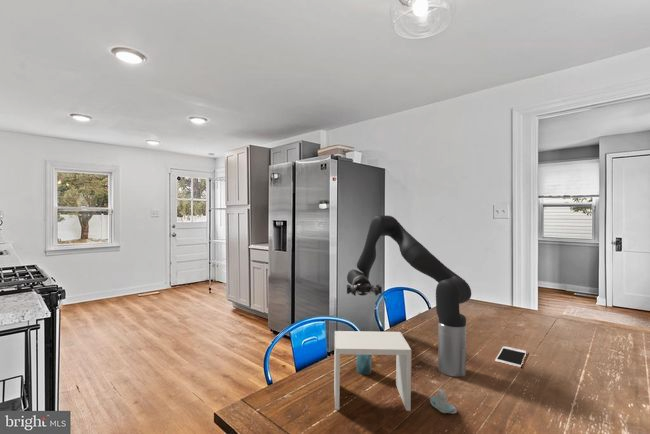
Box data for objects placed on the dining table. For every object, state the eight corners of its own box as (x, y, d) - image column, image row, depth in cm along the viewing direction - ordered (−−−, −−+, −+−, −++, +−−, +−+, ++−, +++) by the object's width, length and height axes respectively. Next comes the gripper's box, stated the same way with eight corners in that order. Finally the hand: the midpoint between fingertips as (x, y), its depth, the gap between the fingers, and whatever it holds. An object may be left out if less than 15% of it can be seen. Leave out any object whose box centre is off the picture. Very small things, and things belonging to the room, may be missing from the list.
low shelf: (334, 384, 106) (334, 331, 106) (399, 385, 106) (400, 331, 106) (335, 409, 92) (335, 348, 92) (410, 410, 92) (411, 349, 92)
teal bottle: (372, 369, 117) (373, 336, 117) (368, 376, 112) (369, 341, 112) (358, 366, 119) (359, 333, 119) (354, 373, 114) (354, 338, 114)
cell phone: (527, 353, 133) (527, 351, 133) (521, 369, 119) (521, 367, 119) (503, 347, 138) (503, 345, 138) (494, 362, 124) (494, 360, 124)
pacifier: (440, 400, 98) (427, 406, 95) (441, 380, 98) (427, 384, 95) (461, 413, 92) (448, 419, 89) (462, 391, 92) (448, 397, 89)
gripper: (345, 276, 143) (347, 283, 126) (377, 276, 143) (383, 283, 126) (345, 293, 143) (347, 302, 126) (377, 293, 142) (384, 302, 126)
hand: (365, 293), depth 126 cm, fingers open, 8 cm apart
